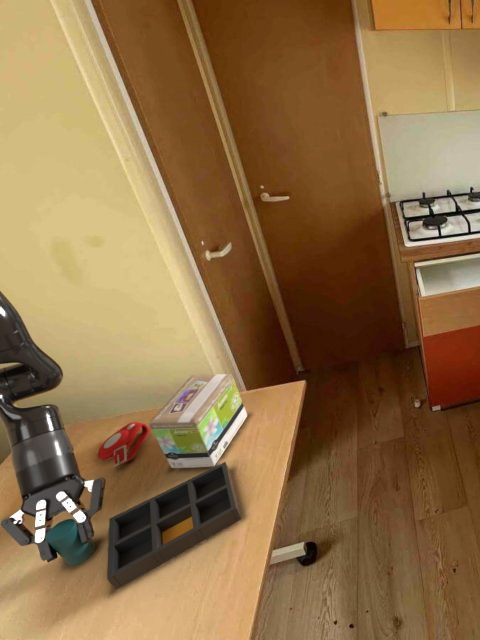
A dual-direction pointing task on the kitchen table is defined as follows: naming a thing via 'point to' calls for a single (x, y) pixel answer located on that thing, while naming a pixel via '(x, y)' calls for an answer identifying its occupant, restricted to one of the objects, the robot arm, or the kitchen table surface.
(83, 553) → the cylinder
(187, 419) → the tea box
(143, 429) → the tracker holder
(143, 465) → the kitchen table surface
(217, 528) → the grid
